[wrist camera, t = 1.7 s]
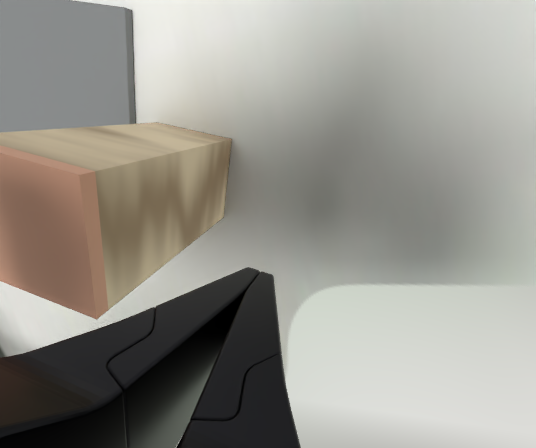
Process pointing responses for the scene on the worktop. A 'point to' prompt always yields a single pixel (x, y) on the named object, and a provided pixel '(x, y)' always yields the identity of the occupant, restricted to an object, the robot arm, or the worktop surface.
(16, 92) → the mat
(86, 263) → the pine block
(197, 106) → the worktop surface
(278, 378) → the robot arm
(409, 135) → the worktop surface
